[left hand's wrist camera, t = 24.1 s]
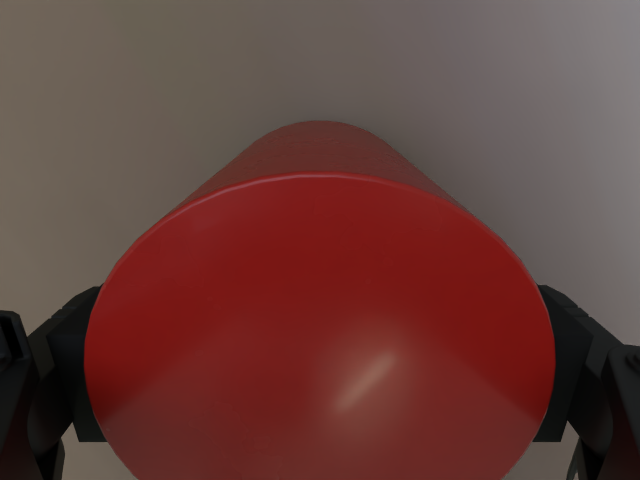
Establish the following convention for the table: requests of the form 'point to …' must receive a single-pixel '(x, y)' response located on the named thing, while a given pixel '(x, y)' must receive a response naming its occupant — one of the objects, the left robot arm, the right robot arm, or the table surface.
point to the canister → (319, 326)
